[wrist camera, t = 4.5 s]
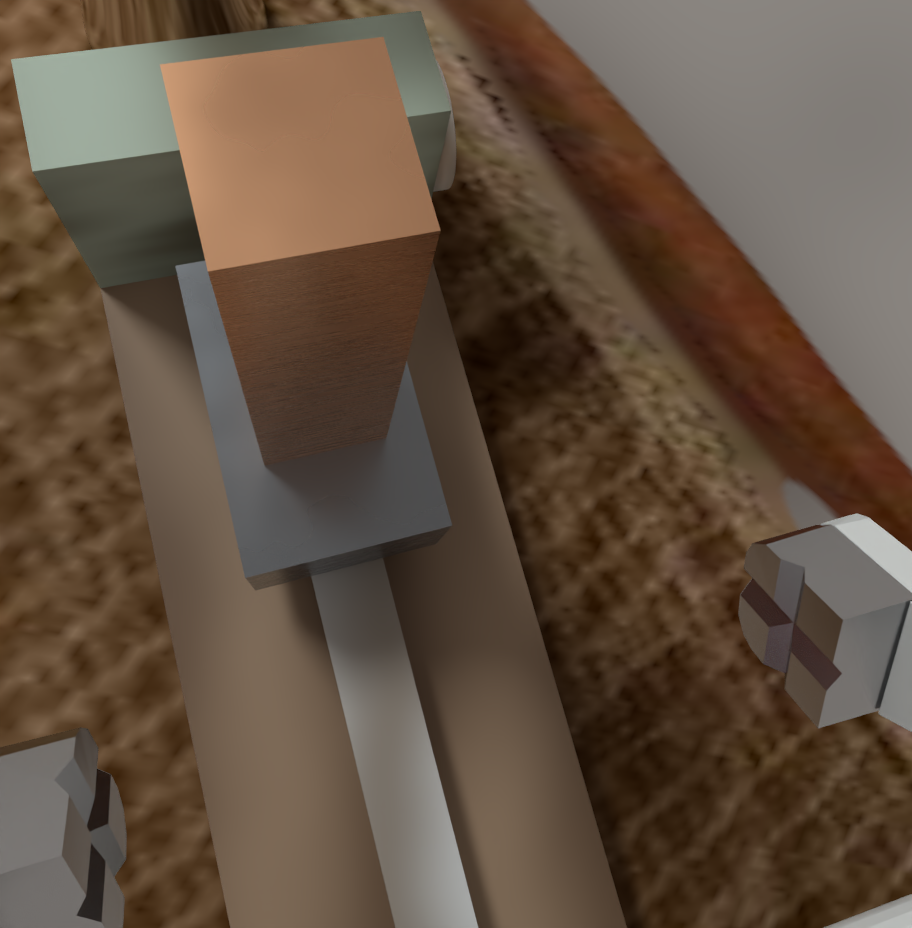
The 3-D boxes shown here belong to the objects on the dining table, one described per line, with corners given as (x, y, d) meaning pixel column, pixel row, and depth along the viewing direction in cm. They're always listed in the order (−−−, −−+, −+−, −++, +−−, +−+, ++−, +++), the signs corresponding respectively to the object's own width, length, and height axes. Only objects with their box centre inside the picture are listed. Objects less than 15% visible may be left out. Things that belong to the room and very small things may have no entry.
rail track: (316, 1301, 21) (311, 1632, 14) (93, 216, 27) (9, 48, 20) (688, 1137, 23) (854, 1348, 16) (405, 166, 29) (432, -1, 22)
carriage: (255, 590, 22) (165, 482, 10) (193, 315, 24) (45, -86, 11) (436, 544, 23) (566, 391, 11) (365, 283, 25) (406, -117, 12)
